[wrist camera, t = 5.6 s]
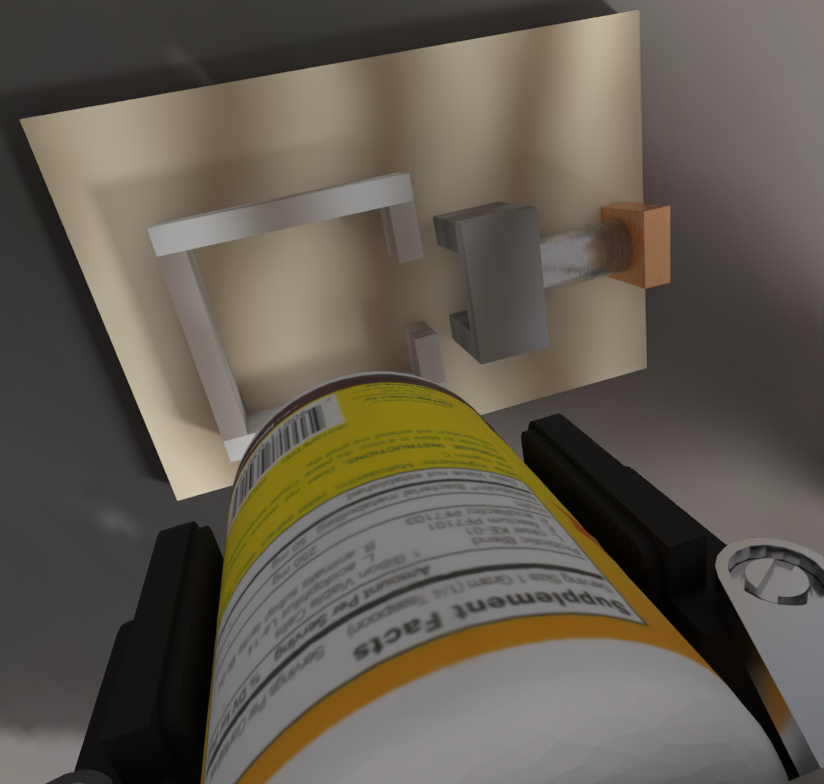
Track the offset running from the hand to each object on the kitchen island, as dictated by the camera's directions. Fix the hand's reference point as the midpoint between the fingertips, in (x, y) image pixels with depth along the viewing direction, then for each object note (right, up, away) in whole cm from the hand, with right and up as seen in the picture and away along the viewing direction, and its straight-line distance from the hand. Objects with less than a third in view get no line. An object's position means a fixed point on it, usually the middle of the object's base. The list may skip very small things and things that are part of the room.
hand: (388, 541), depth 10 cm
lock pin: (+7, +9, +16) cm, 19 cm away
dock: (-1, +8, +16) cm, 18 cm away
